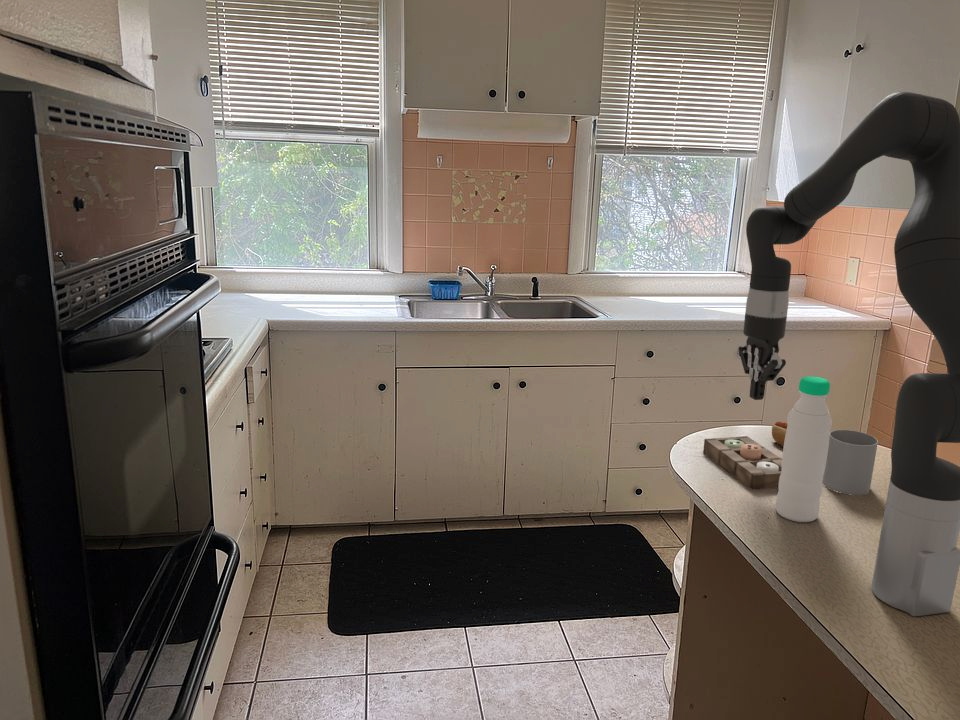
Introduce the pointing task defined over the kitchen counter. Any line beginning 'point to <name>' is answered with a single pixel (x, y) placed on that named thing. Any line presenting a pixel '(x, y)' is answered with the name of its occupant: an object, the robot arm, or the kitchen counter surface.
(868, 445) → the cup
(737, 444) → the button two
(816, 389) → the water bottle
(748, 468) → the wooden compartment tray
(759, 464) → the button one
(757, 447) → the button three
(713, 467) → the kitchen counter surface
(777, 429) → the food
